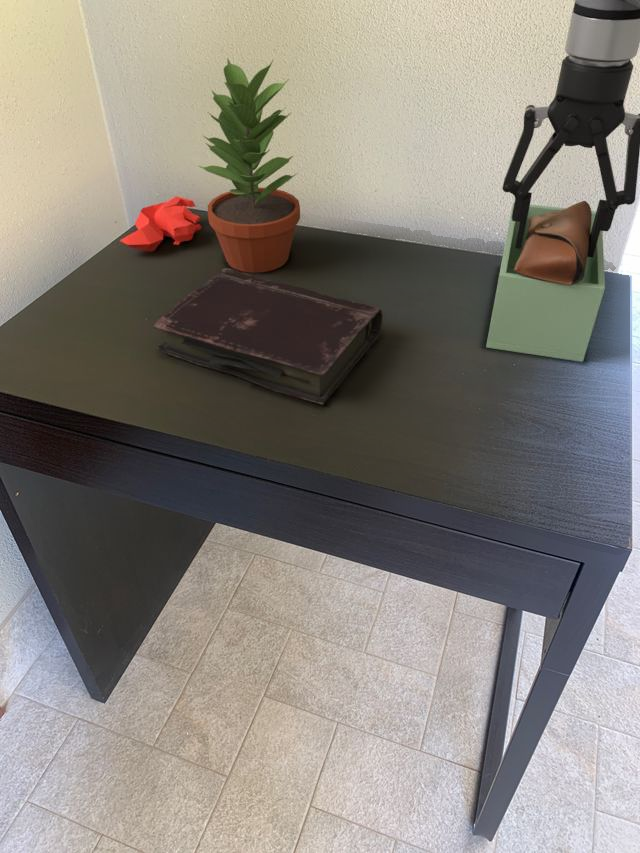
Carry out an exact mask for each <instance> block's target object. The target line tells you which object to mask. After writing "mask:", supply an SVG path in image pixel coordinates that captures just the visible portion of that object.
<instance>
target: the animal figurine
mask: <svg viewBox="0 0 640 853" xmlns="http://www.w3.org/2000/svg"><path fill="white" fill-rule="evenodd" d="M194 207H196V204H195V202H194V200H192V199H188V198H184V197H180V196H174V197H172V198H171V199H169V200H167V201H163V202H160V203H157V204H153V205H149V206H145V207H142V208H141V210H140V212H139V214H138V216H137V218H136V221H135V222H134V225H135V227H136V228H137V230H136V231H134V232H131V233H130V234H128V235H126V236H124V237H123V238H122V239H119V242H121V243H123V244H125V245H126V246H127V247H129V248H133V249H136V250H140V251H143V252H155V250H156V249H157V248H158V246H159V245H160V244H161V243H162V241H163V240H164V237H166V238H167V237H168V238H171V239H173V240H174V241H173V243H172V244H173V245H177V246H179V245H180V244H181V243H182V242H188V241H191V240H192V239H193V237H194V233H196V232H198V231H200V230H201V229H202V225H201V224H200V223H199V222H200V221H201V216H199V215H197V214H194V213H193V212H192V211H191V210H190V209H189V208H194Z"/></svg>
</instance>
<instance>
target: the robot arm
mask: <svg viewBox="0 0 640 853" xmlns="http://www.w3.org/2000/svg"><path fill="white" fill-rule="evenodd" d="M639 48H640V0H574V4H573V9H572V13H571V18H570V22H569V26H568V32H567V36H566V42H565V46H564V52H565V53H566V54H567V55H566V56H565V58H563V59H562V61H561V65H560V71H559V75H558V80H557V86H556V91H555V95H554V98H553V99H552V101H551V103H550V104H549V105H548V106H539V107H536V106H535V105H534V104H528V105H527V106H526V107H525V111H524V115H523V128H522V132H521V135H520V137H519V140H518V142H517V145H516V147H515V150H514V153H513V156H512V158H511V161H510V163H509V166H508V169H507V171H506V174H505V177H504V178H503V179H504V180H503V184H502V191H503V192H504V193H510V194H511V195H513V196H514V202H513V203H514V208H513V213H512V220H513V221H517V222H520V224H519V229H518V235H517V240H516V246H515V248H518V249H521V246H522V241H523V236H524V231H525V226H526V221H527V216H528V212H529V207H530V205H531V201H532V192H530V191H531V189H532V188H533V187H534V186H535V184H536V183H537V181H538V180H539V178H540V177H541V175H542V174H543V172H544V171H545V170H546V168H547V167H548V166H549V164H550V163H551V161H552V160H553V159H554V157H555V156H556V155H557V154H558V153H559V151H560V150H561V149H562V148H563V146H565V147H576V146H577V147H578V146H580V147H583V148H585V149H593V147H594V150H595V155H596V157H597V158H596V159H597V162H598V168H599V172H600V177H601V181H602V186H603V191H604V195H605V199H599V201H598V204H597V208H596V215H595V219H594V222H593V226H592V230H591V234H590V239H589V247H588V255H587V257H593V255H594V252H595V248H596V244H597V241H598V237H599V234H600V231H603V232H609V230H610V229H611V227H612V224H613V220H614V217H615V214H616V211H617V209H618V208H619V207H620V206H623V205H627V206H631V205H633V204H635V201H636V194H637V185H638V173H639V164H640V113H638V114H635V113H631V112H627V111H625V110H626V109H625V100H626V95H627V92H628V89H629V84H630V81H631V77H632V73H633V70H634V64H633V62H632V59H634V58H635V57H636V56H637V55H638V52H639ZM545 119H548V120H549V122H550V125H551V127H552V129H553V130H554V132H553V133H552V134H551V136H550V137H549V139H548V141H547V143H546V144H545V145H544V147H543V148H542V150H541V151H540V152H539V154H538V155H537V157H536V158H535V160H534V161H533V162H532V164H531V165H530V167H529V169H528V170H527V171H526V173H525V174H524V176H522V178H521V180H517V177H518V175H519V172H520V170H521V167H522V165H523V162H524V159H525V158H526V155H527V152H528V149H529V147H530V144H531V142H532V139H533V136H534V132H535V129H538V128H540V127H541V126H542V123H543V121H544V120H545ZM620 125H623V126H624V133H625V135H626V136H627V142H626V156H625V157H626V158H625V168H624V169H625V170H624V182H623V190H618V191H617V186H616V182H615V176H614V171H613V166H612V161H611V157H610V156H611V155H610V152H609V147H608V141H607V138H608V137H609V136H610V135H611V134H612V133H613V132H614V131H615V130H616V129H617V128H618V127H619V126H620Z"/></svg>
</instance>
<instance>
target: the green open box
mask: <svg viewBox="0 0 640 853" xmlns="http://www.w3.org/2000/svg"><path fill="white" fill-rule="evenodd" d="M514 203H515V202H512V205H511V211H510V216H509V221H508V227H507V231H506V238H505V242H504V248H503V253H502V259H501V263H500V269H499V273H498V280H497V284H496V285H497V286H496V292H495V296H494V302H493V307H492V313H491V317H490V323H489V329H488V335H487V339H486V345H485V348H488V349H494V350H501V351H507V352H514V353H520V354H526V355H533V356H541V357H547V358H554V359H561V360H566V361H567V360H568V361H573V362H581V363H584V360H585V356H586V354H587V350H588V346H589V343H590V341H591V336H592V333H593V330H594V327H595V322H596V320H597V316H598V313H599V310H600V307H601V304H602V300H603V297H604V293H605V290H606V280H605V257H604V256H605V254H604V234H603V232H604V231H600V234H599V237H598V241H597V244H596V248H595V252H594V255H593V257H587V262H586V268H585V273H584V277H583V279H582V280H581V281H579V282H578V283H576V284H573V285H563V284H558V283H552V282H547V281H541V280H537V279H534V278H530V277H527V276H524V275H520V274H518V273H517V272H516V271H514V268H515V265H516V263H517V261H518V259H519V257H520V255H521V252H522V250H523V247H524V244H525V241H526V238H527V234H528V231H529V223H530V222H529V220H530V218H532V217H536V216H539V215H543V214H547V213H551V212H555V211H559V210H563V209H566V208H567V207H558V206H549V205H538V204H530V207H529V212H528V216H527V221H526V226H525V231H524V236H523V241H522V246H521V249H518V248H515V246H516V240H517V235H518V229H519V224H520V222H517V221H513V220H512V213H513V208H514ZM596 211H597V210H596ZM596 211H595V210H591V214H592V216H591V217H592V221H591V230H592V226H593V222H594V219H595V215H596ZM590 234H591V231H590Z"/></svg>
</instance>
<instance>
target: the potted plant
mask: <svg viewBox="0 0 640 853" xmlns="http://www.w3.org/2000/svg"><path fill="white" fill-rule="evenodd" d="M226 60H227V61H226V62H227V65H225V66H224V67H223V76H224V78H225V81H223V83H224V85H225V86H226V88H227V90H228V91H229V94H230V95H226V94H218V93H216V92H214V91H213V90H212V89H210V91H211V92H212V94H213V98H212V99H213V101H214V103H215V104H216V105H217V106H218V108H219V109H220V113H219V114H218V117H216V116H214V115H212V114H211V113H210V112H208V114H209V115H210V117H211V118H212V119H213V120H214V121H216V122H217V123H218V124H219V127H220V129H221V130H222V132H223V134H224V136H225V138H226V140H227V141H228V142H227V141H226V140H224V139H221V138H219V137H209V138H208V137H206V136H205V135H201V136H202V137H203V138H205V139H206V140H207V141H208V142H210V143H211V144H212V145H211V144H209V143H207V142H205V145H206V146H208V148H209V150H210V152H212V153H213V154H214V155H216V156H217V157H218V158H219V159H220V160H222V161H223V162H225V163H226V167H223V166H218V165H207V166H205V167H204V166H201V165H198V167H199V168H201V169H203V170H204V171H205V172H208V173H211V174H213V175H216V176H218V177H221V178H224V179H227V180H229V181H231V182H232V184H233V186H234V188H232V189H229V191H227V192H223V193H221V194H219V195H217V196H216V197H213V199H211V201H210V202H209V203H208V205H207V218H208V224H209V225H210V226H211V228H212V229H213V230H214V232H215V235H216V237H217V240H218V243H219V245H220V247H221V249H222V253H223V256H224V257H225V260H226V262H227V264H228V265H229V266H230V267H231V268H232V269H234V270H235V271H239V272H242V273H252V274H255V273H258V274H259V273H266V272H271V271H274V270H277V269H279V268H281V267H283V266H284V265H285V264H286V263H287V261H288V259H289V257H290V253H291V248H292V245H293V244H292V243H293V240H294V235H295V231H296V226H297V225H298V224H299V221H300V219H301V205H300V201H299V199H298V198H297V197H296V196H295V195H294V194H291V193H289V192H287V191H285V190H281V189H279V188H281V187H282V186H284V184H286V183H288V182H289V181H291V179H293V178H294V177H295V176H296V175H297V173H295V174H293V175H290V174H285V175H282V176H280V177H278V178H277V179H275V180H274V181H272V182H271V183H269V184H268V185H267V186H265V187H259V185H260V184H261V183H262V182H264V181H265V180H267V179H268V178H270V177H271V176H272V175H273V174H274V173H276V172H278V171H279V170H280V169H281V168H283V167H285V166H286V165H287V164H289V163H290V160H291V159H292V158H293V157H294V155H292V156H290V157H288V158H286V157H283V156H282V157H281V156H279V157H278V156H276V157H274V158H272V159H270V160H268V161H267V162H264V163H263V164H262V165H261V166H259V165H260V163H261V161H262V159H263V158H264V156H266V155H267V154H268V153H269V152H270V151H271V149H268V146H269V144H270V142H271V140H272V138H273V136H274V130H275V129H277V127H278V126H279V125H280V124H281V123H283V122H284V121H285V120H286V119H287V118H288V117H289V116H290V115H291V114H292V111H291V112H290V113H288V114H287V115H283V114H281V113H282V112H283V111H284V110H285V109H286V106H285V107H284V108H283V109H282V110H281V109H277V110H275V111H274V112H273V113H271V114H270V115H269V116H267V117H265V118H264V119H263V120H262V121H261V119H262V114H263V110H264V108H265V106H266V105H267V104H268V103H269V102H271V100H272V99H273V98H274V97H275V96H277V94H278V93H279V92H280V91H281V90H282V89H283V88H284V86H285V85H286V83H288V82H289V80H290V78H288V79H287V80H286V81H284V82H283V83H282V82H281V83H280V82H274V83H271V84H270V85H268V86H266V88H264V89H263V91H261V92H259V89H260V88H261V86H262V84H263V82H264V80H265V78H266V76H267V74H268V72H269V71H270V68H271V66H272V65H273V62H274V58H273V59H272V60H271V62H270V63H269V64H268V65H266V67H264V68H262V69H260V70H259V71H258V72H256V74H255V75H253V77H252V78H251V80H250V82H249V80H248V78H247V75H246V73H245V71H244V69H243V68H242V67H241V66H239V65H236V64H234V63H231V61H230V59H229V57H226ZM267 149H268V150H267Z"/></svg>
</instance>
